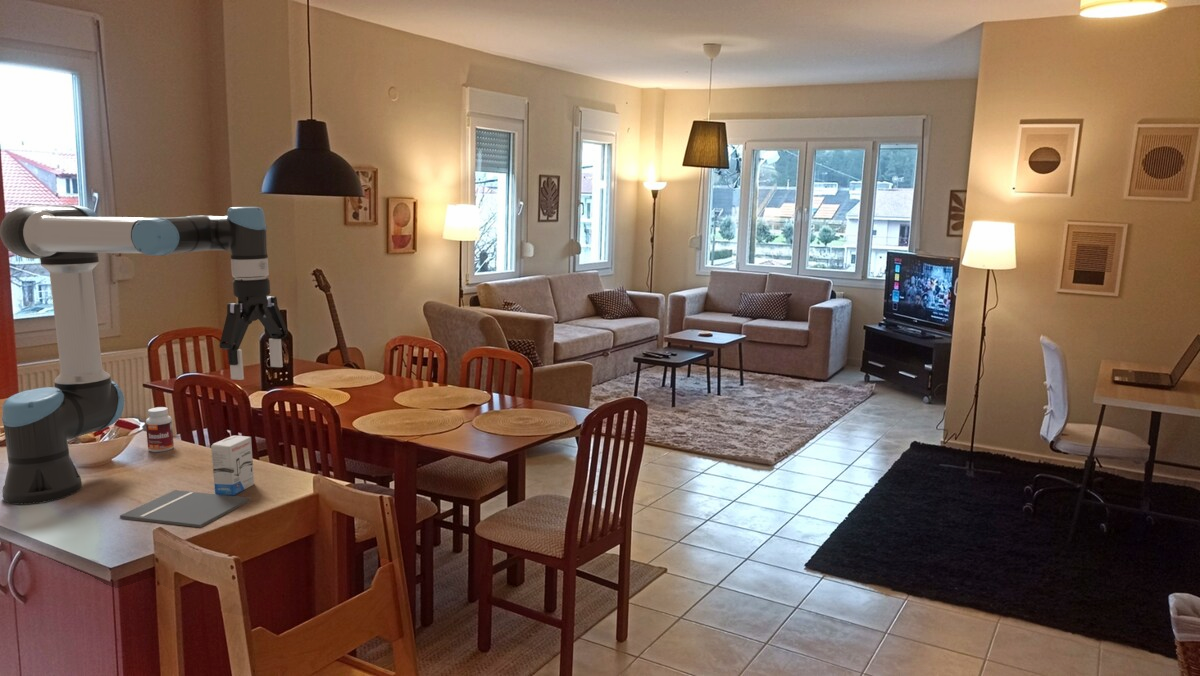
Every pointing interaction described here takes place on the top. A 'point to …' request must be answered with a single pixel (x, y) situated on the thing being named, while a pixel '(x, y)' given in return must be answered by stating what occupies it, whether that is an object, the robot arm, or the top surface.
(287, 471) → the top surface
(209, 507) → the mat
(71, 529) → the top surface
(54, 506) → the top surface
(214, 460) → the ink box
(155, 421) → the pill bottle
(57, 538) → the top surface
